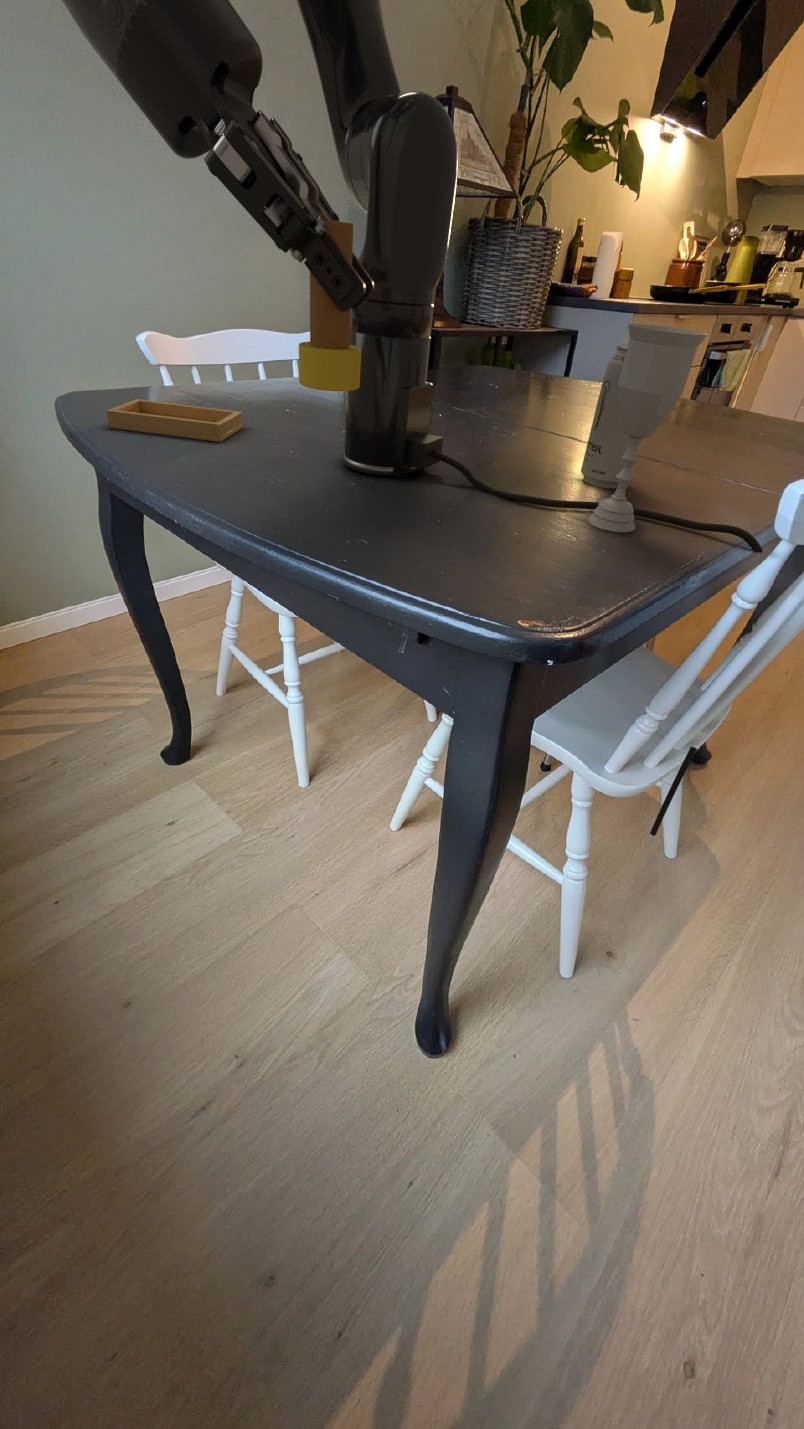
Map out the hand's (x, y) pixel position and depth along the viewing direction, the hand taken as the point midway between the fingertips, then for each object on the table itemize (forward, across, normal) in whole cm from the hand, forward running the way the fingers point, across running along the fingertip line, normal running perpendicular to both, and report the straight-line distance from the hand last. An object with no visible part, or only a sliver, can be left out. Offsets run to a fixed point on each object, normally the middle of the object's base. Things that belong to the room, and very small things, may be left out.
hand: (359, 299), depth 43 cm
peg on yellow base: (+2, 0, +5) cm, 6 cm away
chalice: (+31, +19, -4) cm, 37 cm away
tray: (-8, +36, +35) cm, 51 cm away
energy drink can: (+32, +35, -5) cm, 47 cm away
